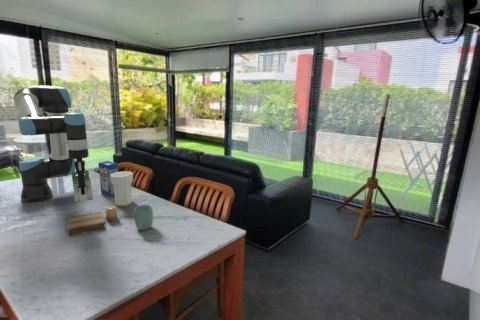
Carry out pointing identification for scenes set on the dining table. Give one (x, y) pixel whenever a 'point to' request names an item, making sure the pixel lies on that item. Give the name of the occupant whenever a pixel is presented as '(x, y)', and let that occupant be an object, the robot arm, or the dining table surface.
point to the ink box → (76, 184)
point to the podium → (85, 223)
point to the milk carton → (107, 177)
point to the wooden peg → (111, 213)
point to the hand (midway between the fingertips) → (83, 198)
